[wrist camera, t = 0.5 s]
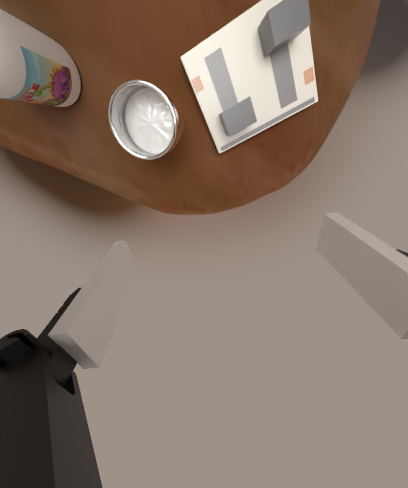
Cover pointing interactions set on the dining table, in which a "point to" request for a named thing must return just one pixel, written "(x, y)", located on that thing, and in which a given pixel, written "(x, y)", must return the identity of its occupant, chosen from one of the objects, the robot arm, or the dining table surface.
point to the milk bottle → (35, 66)
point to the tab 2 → (283, 24)
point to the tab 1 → (238, 117)
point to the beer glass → (145, 119)
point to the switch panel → (250, 75)
